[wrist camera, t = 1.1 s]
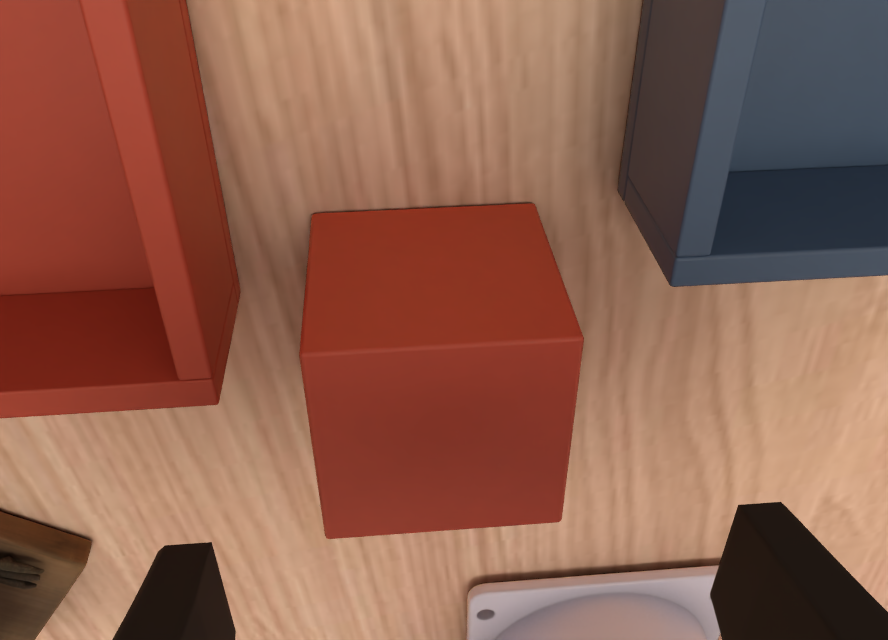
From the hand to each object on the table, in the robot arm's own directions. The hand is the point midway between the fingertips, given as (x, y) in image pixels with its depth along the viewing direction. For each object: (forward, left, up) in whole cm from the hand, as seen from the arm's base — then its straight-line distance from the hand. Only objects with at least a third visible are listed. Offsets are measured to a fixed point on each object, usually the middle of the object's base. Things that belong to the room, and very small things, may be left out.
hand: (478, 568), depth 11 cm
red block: (-1, 0, -7) cm, 7 cm away
